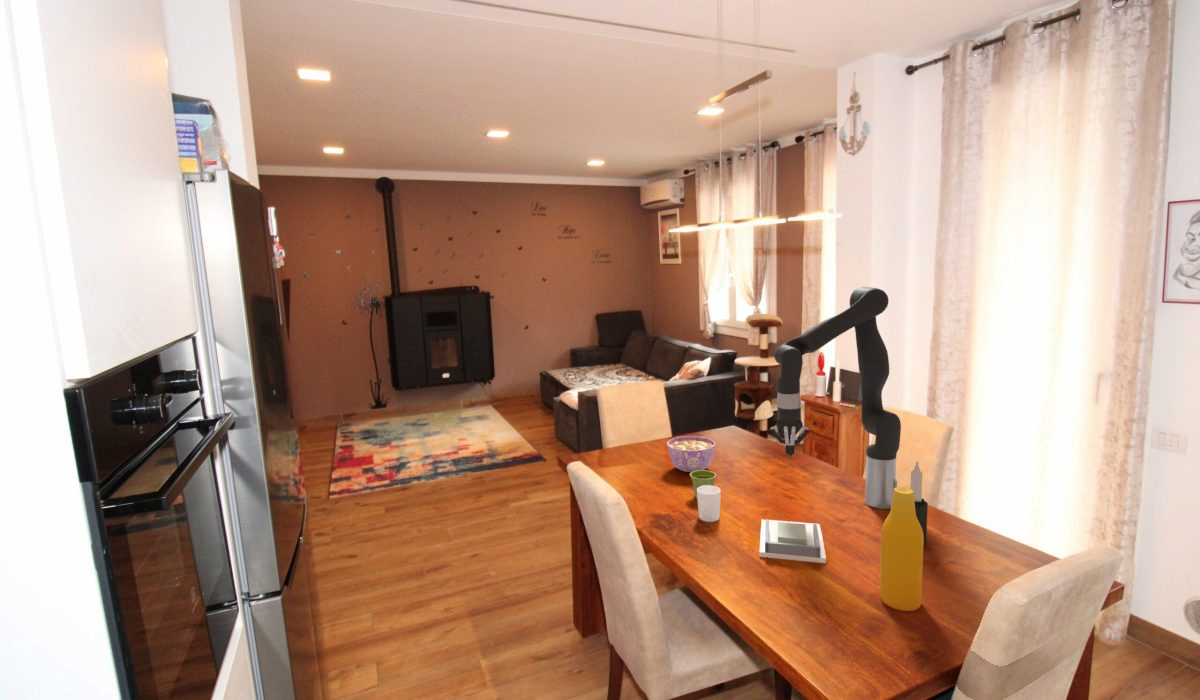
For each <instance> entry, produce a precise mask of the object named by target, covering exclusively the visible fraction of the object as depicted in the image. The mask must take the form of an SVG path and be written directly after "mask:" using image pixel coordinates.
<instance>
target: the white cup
mask: <svg viewBox="0 0 1200 700" xmlns="http://www.w3.org/2000/svg"><path fill="white" fill-rule="evenodd" d="M721 492H722V491H721V488H720V487H718V486H716V485H713V486H712V485H704V486H700V487H698V488H697V498H696V500H697V507H698V508H697V510H698V518H699V520H701V521H703V522H706V523H713V522H717V521H719V519H720V515H721V514H720V511H721V497H722V496H721Z"/></svg>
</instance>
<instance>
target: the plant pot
mask: <svg viewBox="0 0 1200 700" xmlns="http://www.w3.org/2000/svg"><path fill="white" fill-rule="evenodd" d="M689 476H690V478H691V480H692V486H693V493H694V498H696V499H697V488H698V487H700V486H704V485H712V486H714V481H715V479H716V476H717V474H716V473H715V472H714V471H711V470H706V469H704V470H697V471H693V472H691V473H689Z"/></svg>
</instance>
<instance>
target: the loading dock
mask: <svg viewBox="0 0 1200 700" xmlns="http://www.w3.org/2000/svg"><path fill="white" fill-rule="evenodd" d="M778 522H784V523H796V524H805V526H806V535H807V545H801V544H791V543H780V542H778ZM760 524H761V525H760V539H759V540H760V542H759V557H760V558H767V557H768V558H767V559H769V558H771V559H778V560H779V559H780V560H790V561H798V562H808V563H819V564H827V557H826V555H827V554H826V551H825V544H824V538H823V533H822V529H821V526H820V525H821V524H820V523H811V522H800V521H798V522H797V521H789V522H788V521H786V520H775V519H765V520H764V519H763V518H762V519H761V522H760Z"/></svg>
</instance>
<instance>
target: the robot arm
mask: <svg viewBox="0 0 1200 700" xmlns="http://www.w3.org/2000/svg"><path fill="white" fill-rule="evenodd" d="M888 306H889V297H888V294H887V293H886V292H885V291H884V290H882V289H880V288H878V287H877V288H876V287H869V286H860V287H857V288H856V289H854V290H853V291H852V293H851V294H850V297H849V308H848V307H847V308H846V309H845V310H844V311H842V312H840V313H837V314H835V315H833V316H831V317H828V318H826V319H824V320H823V321H820V322H818V323H817V324H815V325H814V326H812V327H810V328H809V329H807V330H806V331H805V332H803V333H802V334H800V335H799V336H796V337H794V338H791V339H789V340H788V341H786V342H784V343H782V344H781V345H779V346H778V347H777V348H776V350H775V351H774V360H775V362H776V363H777V364H778V365H780V367H781V371H780V375H778V376H777V397H776V406H777V411H776V412H777V413H776V414H777V420H776V422H775V425H774V426H770V433H772V435H773V436H774V437H775V438H776V440H777V441H778V442H779V443H780V444H783V445H785V451H784V452H785V454H786V455H787V456H788V457H789V456H790V457H793V455H794V454H795V446H796V445H799V444H800V443H801V442H803V440H804V439H805V438H806V436H807V435H809V433H810V429H809V427H806V426H805V425H804V424H803V422H802V396H801V380H800V379H801V376H802V372H803V371H802V369H803V365H804V361H803V359H804V358H803V356H804V355H806V354H812V353H814V352H817V351H818V350H820V349H821V348H823V347H824V346H825V345H827V344H828V343H830V342H831V341H833V340H835V339H836V338H837V337H839V336H841V335H842V334H844V333H845V332H847V331H849V330H851V329H852V328H854V333H855V343H856V351H857V364H858V373H859V379H860V380H859V381H860V391H861V423H862V427H863V428H864V430H865V431H866V432H867V433H869V434H871V435H873V436H875V440H874V442H875V443H874V444H869V445H868V446H866V448H865V449H866V450H865V453H866V454H865V491H864V492H865V494H864V496H865V497H864V498H865V501H864V502H865V504H866V505H868V506H869V507H871V508H876V509H879V510H889V509H890V510H891V505H892V499H893V493H894V488H896V487H898V481H897V474H896V473H897V453H898V451H899V450H900V449H899V448H900V445H901V443H900V442H901V433H902V432H901V430H902V423H901V419H900V417H899V416H898V414H896V413H894V412H892V411H889V410H886V409H884V405H883V397H882V394H883V393H882V392H883V389H884V387H885V385H886V382H887V380H888V378H889V375H890V361H889V360H890V359H889V353H888V349H887V347H886V345H885V343H884V340H883V338H882V336H881V333H880V331H879V328H878V325H877V316H879V315H880V314H883V313H884V312H885V310H886V309H887V308H888ZM779 431H780V433H782V435H784V438H783V436H781V434H780V433H779ZM799 432H801V433H799ZM798 433H799V435H798V436H797V437H796V435H797V434H798ZM789 436H790V440H789Z"/></svg>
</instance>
